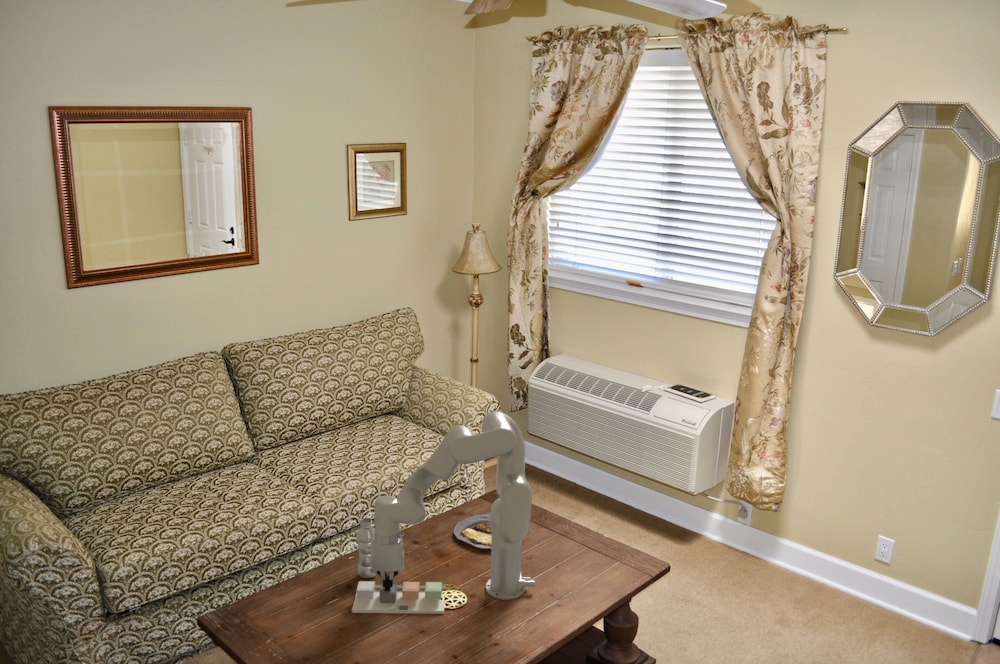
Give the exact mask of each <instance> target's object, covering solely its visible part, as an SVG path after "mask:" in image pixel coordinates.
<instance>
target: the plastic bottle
mask: <svg viewBox="0 0 1000 664" xmlns="http://www.w3.org/2000/svg"><path fill="white" fill-rule="evenodd" d="M359 526H360V528H359V529H358V530H357V532H356V536H355V537H356V542H357V546H358V547H357V549H358V563H357V574H358V575H359V576H360V577H361V578H363V579H372V578H374V577H376V576H377V575H378V574H377V573H372V572H370V569H371V548H372V541H373V538H374V537H375V528H373V519H372V518H369V517H366V518H365V517H364V518H362V519H360V525H359Z"/></svg>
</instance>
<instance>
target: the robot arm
mask: <svg viewBox="0 0 1000 664" xmlns="http://www.w3.org/2000/svg"><path fill="white" fill-rule="evenodd" d="M481 429H482V432H481V433H477V434H474V433H473V431H472V430H471V429H470V428H468V426H465V425H462V424H457V425H454V426H453V427H451V428H450V429H449V430H448V432H447V433H445V436H444V437H443V439H442V440H441V441H440V443H439V445H437V447H436V449H435V450H434V452H432V454H431V456H430V457H429V459H428V460H427V461H426V462H425V463H424V464H422V465H421V466H419V467H418V468H417V469H415V470H414V472H413V473H412V474H411V475H410V476H409V477H408V478H407V480H406V482H405V483H404V484H403V486H402V488H401V489H400V491H399V493H398V496H396V497H395V496H394V495H382V496H379V497H377V498H376V499H375V501H374V503H373V504H374V505H373V506H374V509H373V512H374V516H373V517H374V520H373V521H374V530H375V537H374V538H373V541H372V548H371V569H370V572H372V573H377V574H376V575H378V576H379V577H380V578H381V580H382V584H383V587H385V591H387V589H388V591H390V588H391V587H393V584H394V578H395V577H396V576H398V574H399V575H400V574H405V572H406V568H405V559H406V557H405V556H406V555H405V547H404V545H405V544H404V540H403V538H405V532H402V531H401V529H400V525H401V524H402V525H403V524H404V525H411V526H412V525H418V524H420V523H421V522H423V521H424V519H425V518H426V515H427V511H426V510H427V509H426V506H425V503H424V498H423V497H424V496H426V493H427V492H428V490H429V489H430V488H431V487H432V486H433V485H434V484H435V483H436V482H438V481H440V480H442V481H447V480H450V479H451V477H452V476H453V475H454V473H455V472H456V470H457V468H458V467H459V466H460V464H461V465H468V464H469V465H470V464H475V463H479V462H482V461H486V460H489V459H492V458H496V457H497V461H496V462H497V463H496V475H495V490H496V492H497V494H498V496H499V497H498V498H497V499H495V500H494V502H493V503H492V505H491V508H490V513H489V514H490V517H491V524H490V525H491V526H490V527H491V532H492V543H491V549H490V578H489V579H488V580H487V581H486V584H485V591H486V593H487V594H488V595H489V596H490V597H492V598H495V599H498V600H502V601H503V600H504V601H506V600H507V601H509V600H515V599H518V598H520V597H521V596H523V594H525V593H524V592H525V590H526V587H531V588H533V587H535V586H536V585H535V584H536V582H535V580H532V579H531V577H530V576H522V571H521V570H522V569H521V567H522V545H523V544H522V543H523V541H524V539H525V538H526V537H527V535H528V534H529V531H530V526H531V519H532V518H531V517H532V505H533V493H532V490H531V489H532V488H531V486H530V484H529V482H528V481H527V478H526V474H525V472H526V471H525V469H526V467H525V466H526V445H525V439H524V436H523V433H522V431H521V429H520V427H519V425H518V424H517V423H516V421H515V420H514V419H513V418H511V417H510V416H509V415H507V414H506V413H503V412H501V411H496V410H493V411H490V412H488V413H487V414H486V415H485V416H484V418H483V419H482V424H481ZM397 497H398V498H397ZM387 572H389V574H388V573H387Z"/></svg>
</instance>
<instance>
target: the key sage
mask: <svg viewBox="0 0 1000 664" xmlns="http://www.w3.org/2000/svg"><path fill="white" fill-rule="evenodd" d="M425 586H426V587H425V600H441V598H442V586H443V582H442V581H426V582H425Z"/></svg>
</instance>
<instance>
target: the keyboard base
mask: <svg viewBox="0 0 1000 664" xmlns="http://www.w3.org/2000/svg"><path fill="white" fill-rule="evenodd" d="M357 587H358V585H357ZM357 587H356V588H357ZM425 587H426V585H420V593H419V600H408V599H402V589H403V585H398V584H397V588H398V593H397V599H396V602H380V596H379V593H380V589H381V584H379V585H378V584H377V585H376V584H375V593H374V597H373V599H357V592H356V593H355V596H354V601H353V604H352V608H351V613H352V614H425V615H426V614H430V615H431V614H432V615H436V614H437V615H438V614H440V615H441V614H443V615H444V614H445V607H444V605H445V606H446V602H445V603H442V601H440V600H425ZM442 591H446V592H447V586H446V585H442Z"/></svg>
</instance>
